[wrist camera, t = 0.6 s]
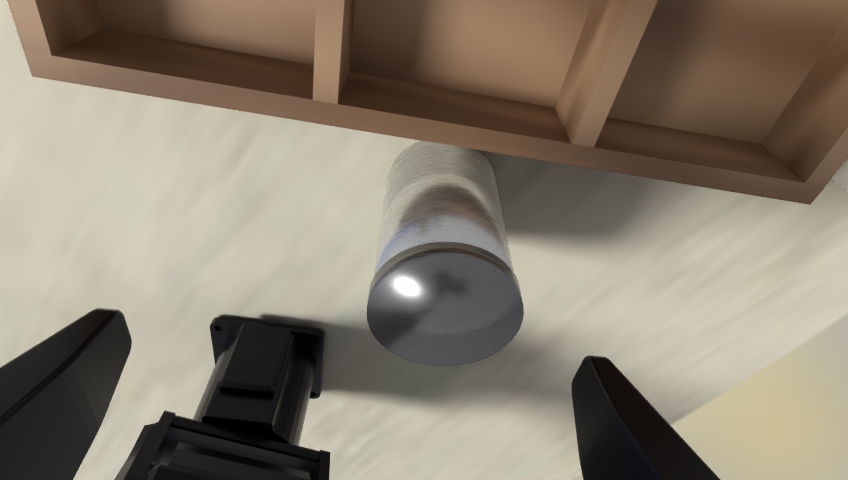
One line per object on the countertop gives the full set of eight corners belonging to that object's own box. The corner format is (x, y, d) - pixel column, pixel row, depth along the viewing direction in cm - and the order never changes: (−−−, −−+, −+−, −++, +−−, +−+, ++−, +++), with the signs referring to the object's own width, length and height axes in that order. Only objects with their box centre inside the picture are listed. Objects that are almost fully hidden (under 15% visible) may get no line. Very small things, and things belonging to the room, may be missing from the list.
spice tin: (481, 238, 24) (499, 373, 18) (378, 223, 24) (359, 356, 18) (511, 146, 21) (545, 271, 15) (392, 126, 21) (375, 247, 14)
